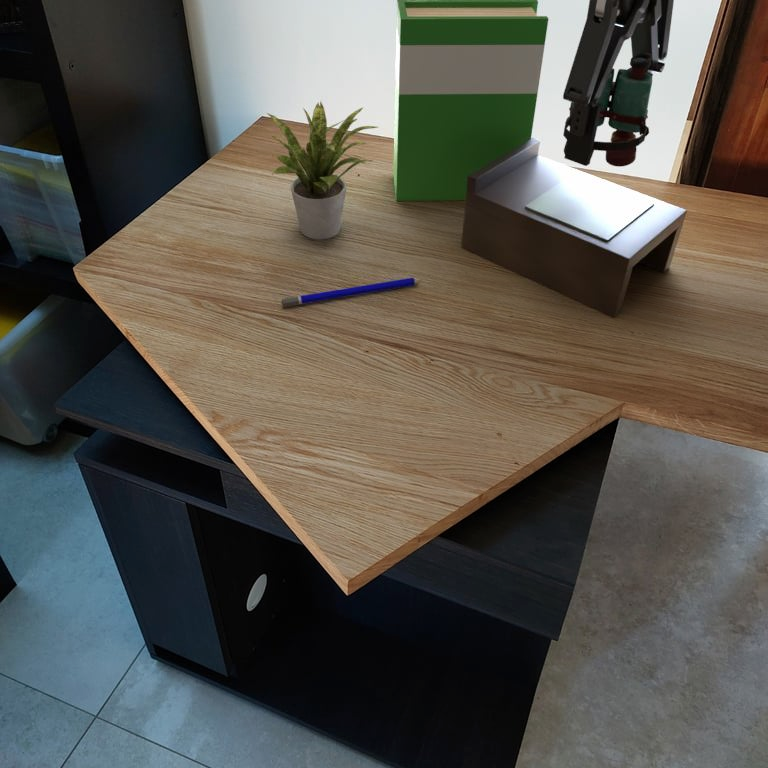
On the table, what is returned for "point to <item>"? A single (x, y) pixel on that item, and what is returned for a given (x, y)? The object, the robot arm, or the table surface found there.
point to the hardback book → (462, 90)
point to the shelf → (566, 226)
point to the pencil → (349, 291)
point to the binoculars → (623, 111)
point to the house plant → (318, 173)
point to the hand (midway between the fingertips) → (602, 144)
